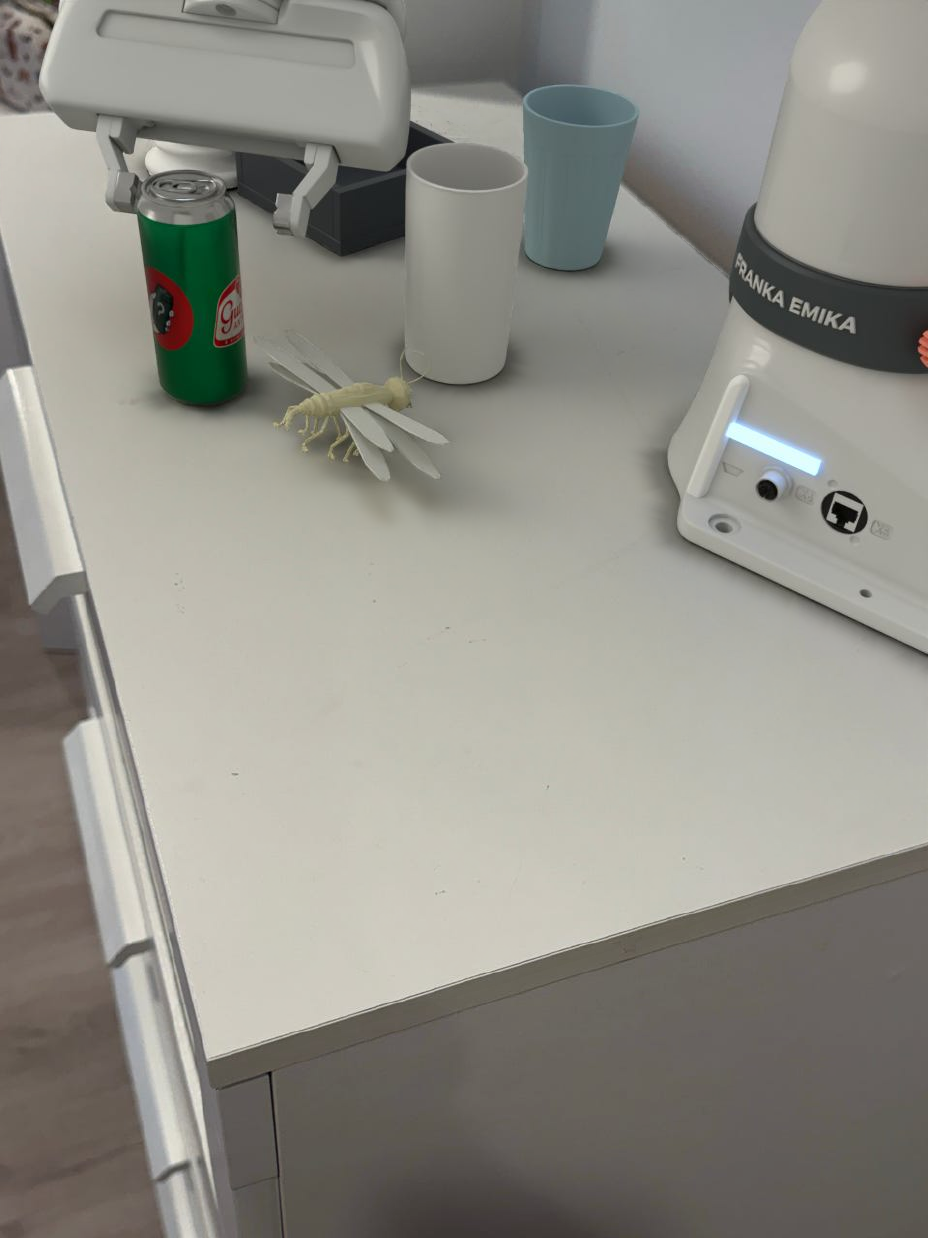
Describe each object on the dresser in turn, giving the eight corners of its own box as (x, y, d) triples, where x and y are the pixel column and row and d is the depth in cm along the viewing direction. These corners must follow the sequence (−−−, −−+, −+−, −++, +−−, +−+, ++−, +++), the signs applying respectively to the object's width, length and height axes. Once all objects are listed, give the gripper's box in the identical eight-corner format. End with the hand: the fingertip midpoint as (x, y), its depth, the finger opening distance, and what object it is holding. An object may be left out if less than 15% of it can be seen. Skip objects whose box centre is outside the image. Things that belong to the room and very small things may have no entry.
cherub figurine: (246, 204, 87) (223, -145, 72) (79, 191, 87) (21, -161, 72) (273, 142, 96) (257, -180, 81) (121, 130, 96) (77, -194, 81)
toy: (211, 412, 67) (204, 333, 63) (341, 366, 71) (340, 290, 68) (364, 547, 59) (364, 465, 56) (498, 486, 63) (506, 407, 60)
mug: (515, 388, 71) (536, 193, 62) (403, 388, 70) (409, 190, 62) (497, 306, 78) (513, 122, 70) (395, 305, 77) (400, 119, 69)
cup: (577, 222, 88) (596, 77, 81) (637, 266, 84) (663, 116, 76) (490, 239, 85) (502, 91, 78) (547, 286, 81) (565, 132, 73)
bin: (473, 212, 88) (478, 152, 85) (340, 256, 82) (339, 193, 79) (368, 156, 95) (369, 99, 92) (237, 193, 88) (233, 132, 85)
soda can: (241, 413, 67) (224, 209, 59) (152, 408, 67) (123, 202, 59) (254, 367, 71) (241, 169, 62) (170, 361, 70) (145, 162, 62)
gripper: (45, -82, 63) (-3, 171, 62) (420, -37, 61) (375, 223, 60) (91, -13, 69) (49, 217, 68) (433, 30, 67) (392, 266, 67)
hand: (204, 220), depth 64 cm, fingers open, 8 cm apart
